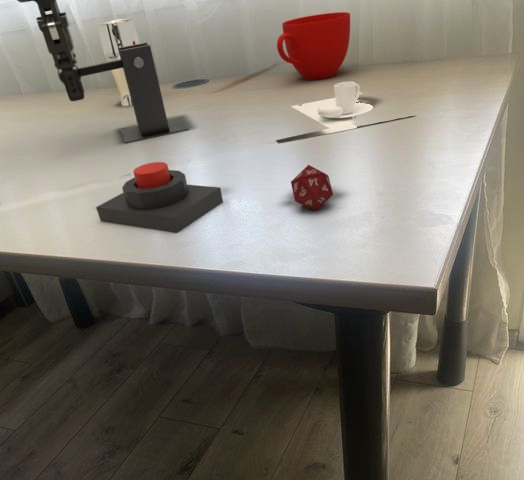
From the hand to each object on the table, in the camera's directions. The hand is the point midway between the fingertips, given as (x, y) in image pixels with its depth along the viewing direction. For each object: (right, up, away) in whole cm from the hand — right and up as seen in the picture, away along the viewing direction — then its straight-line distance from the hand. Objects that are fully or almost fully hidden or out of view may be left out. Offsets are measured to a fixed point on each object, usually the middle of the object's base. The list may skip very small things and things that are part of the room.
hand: (77, 97), depth 79 cm
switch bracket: (+10, -4, +6) cm, 12 cm away
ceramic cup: (+38, +16, +27) cm, 49 cm away
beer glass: (+3, +10, +27) cm, 29 cm away
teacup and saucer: (+38, -2, +3) cm, 38 cm away
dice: (+33, -24, -26) cm, 48 cm away
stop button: (+16, -20, -23) cm, 35 cm away
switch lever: (+4, +3, 0) cm, 5 cm away
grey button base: (+17, -23, -21) cm, 35 cm away
